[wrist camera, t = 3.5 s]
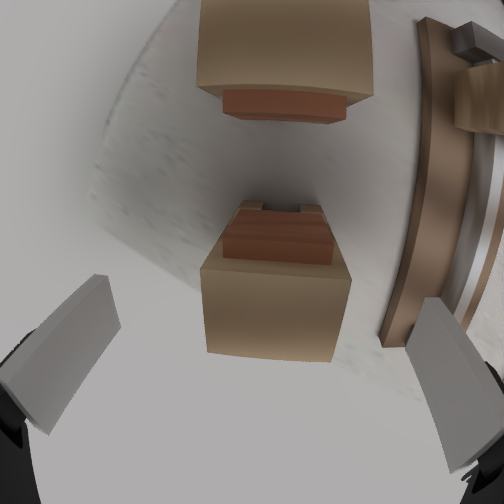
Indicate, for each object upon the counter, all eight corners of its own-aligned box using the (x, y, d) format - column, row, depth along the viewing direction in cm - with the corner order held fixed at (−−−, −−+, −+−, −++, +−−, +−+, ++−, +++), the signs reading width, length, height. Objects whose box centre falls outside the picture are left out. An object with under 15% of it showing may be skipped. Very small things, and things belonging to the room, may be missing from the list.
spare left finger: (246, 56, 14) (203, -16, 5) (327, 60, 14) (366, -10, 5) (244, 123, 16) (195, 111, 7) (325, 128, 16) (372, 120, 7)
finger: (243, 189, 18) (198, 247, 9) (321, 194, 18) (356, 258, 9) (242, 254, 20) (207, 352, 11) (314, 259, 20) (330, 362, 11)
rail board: (417, 22, 11) (445, 2, 7) (501, 62, 10) (534, 57, 6) (378, 336, 22) (390, 373, 18) (454, 333, 21) (472, 363, 17)
